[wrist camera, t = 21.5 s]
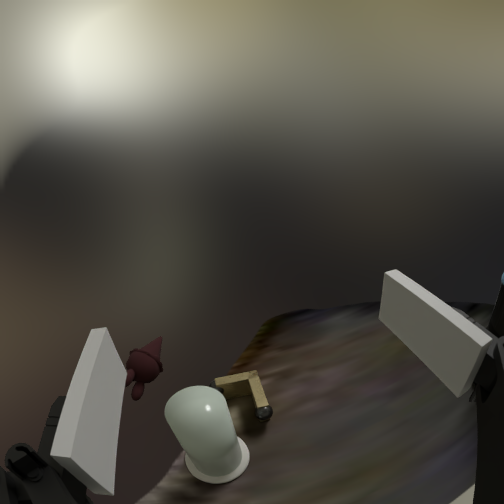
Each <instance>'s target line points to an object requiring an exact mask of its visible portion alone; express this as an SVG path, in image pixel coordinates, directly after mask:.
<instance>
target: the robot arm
mask: <svg viewBox="0 0 504 504" xmlns="http://www.w3.org/2000/svg"><path fill="white" fill-rule="evenodd" d="M501 281H502V284H501V288H500V291H499V294H498V298H497V301H496V304H495V307H494V310H493V313H492V316H491V319H490V322H489V325H488V326H487V328H486V329H485V328H484V327H483V326H481V325H480V324H479V323H477V322H475V320H473V319H472V318H469V316H468V315H467V314H465V313H464V312H463V311H461V310H458V309H456V308H453V307H450V306H448V305H447V304H446V303H444V302H443V301H441V300H440V299H439V298H437V297H436V296H434V295H433V294H431V293H430V292H429V291H427V290H425V289H424V288H423V287H421V286H420V285H418V284H417V283H416V282H414V281H413V280H411V279H410V278H408V277H407V276H405V275H404V274H402V273H401V272H399V271H398V270H392V271H389V272H385V273H384V282H383V291H382V300H381V307H380V314H379V319H380V320H381V321H382V322H383V323H384V324H385V325H386V326H387V327H388V328H389V329H390V330H391V331H392V332H393V333H394V334H395V335H396V336H397V337H398V338H399V339H400V340H401V341H402V342H403V343H404V344H405V345H406V346H407V347H408V348H409V349H410V350H412V351H413V352H414V353H415V354H416V355H417V356H418V357H419V358H420V360H421V361H422V362H423V363H424V364H425V365H426V366H427V367H428V368H429V369H430V370H431V371H432V372H433V373H434V374H435V375H436V376H437V377H438V378H439V379H440V380H441V381H442V382H443V383H444V384H445V385H446V386H447V387H448V388H449V389H450V390H451V391H452V392H453V393H454V394H455V396H456V397H457V398H458V397H460V396H461V395H462V394H464V393H465V392H467V391H468V390H469V389H470V387H471V385H472V383H473V381H474V383H475V384H476V387H475V389H474V391H473V393H472V395H471V396H470V399H469V402H471V401H472V399H473V398H474V396H475V395H476V399H475V400H474V402H477V423H478V450H477V470H476V482H475V491H474V498H473V504H504V273H503V275H502V280H501ZM126 376H127V372H126V370H125V368H124V366H123V364H122V362H121V360H120V358H119V356H118V353H117V351H116V349H115V346H114V344H113V342H112V339H111V337H110V335H109V332H108V330H107V328H99V329H92V330H91V332H90V335H89V337H88V339H87V342H86V344H85V347H84V349H83V352H82V354H81V357H80V360H79V362H78V365H77V368H76V371H75V373H74V376H73V379H72V382H71V385H70V388H69V391H68V394H67V396H59V397H58V398H57V399H56V401H55V402H54V403H53V405H52V406H51V409H50V412H49V415H48V417H49V418H47V421H46V427H45V428H44V431H43V435H42V438H41V442H40V445H39V449H38V452H36V451H35V450H33V448H32V447H30V446H29V445H27V444H25V443H18V444H15V445H13V446H12V447H11V448H10V449H9V450H8V452H7V454H6V456H5V466H6V467H7V468H8V469H9V470H10V472H6V471H5V470H4V469H3V468H1V466H0V504H94V503H93V502H92V501H91V499H90V498H89V497H88V496H87V495H86V489H87V488H89V489H90V490H91V491H92V492H93V493H95V494H104V495H105V494H106V495H114V480H115V479H114V478H115V465H116V452H117V442H118V432H119V424H120V416H121V409H122V401H123V395H124V388H125V382H126Z"/></svg>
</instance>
